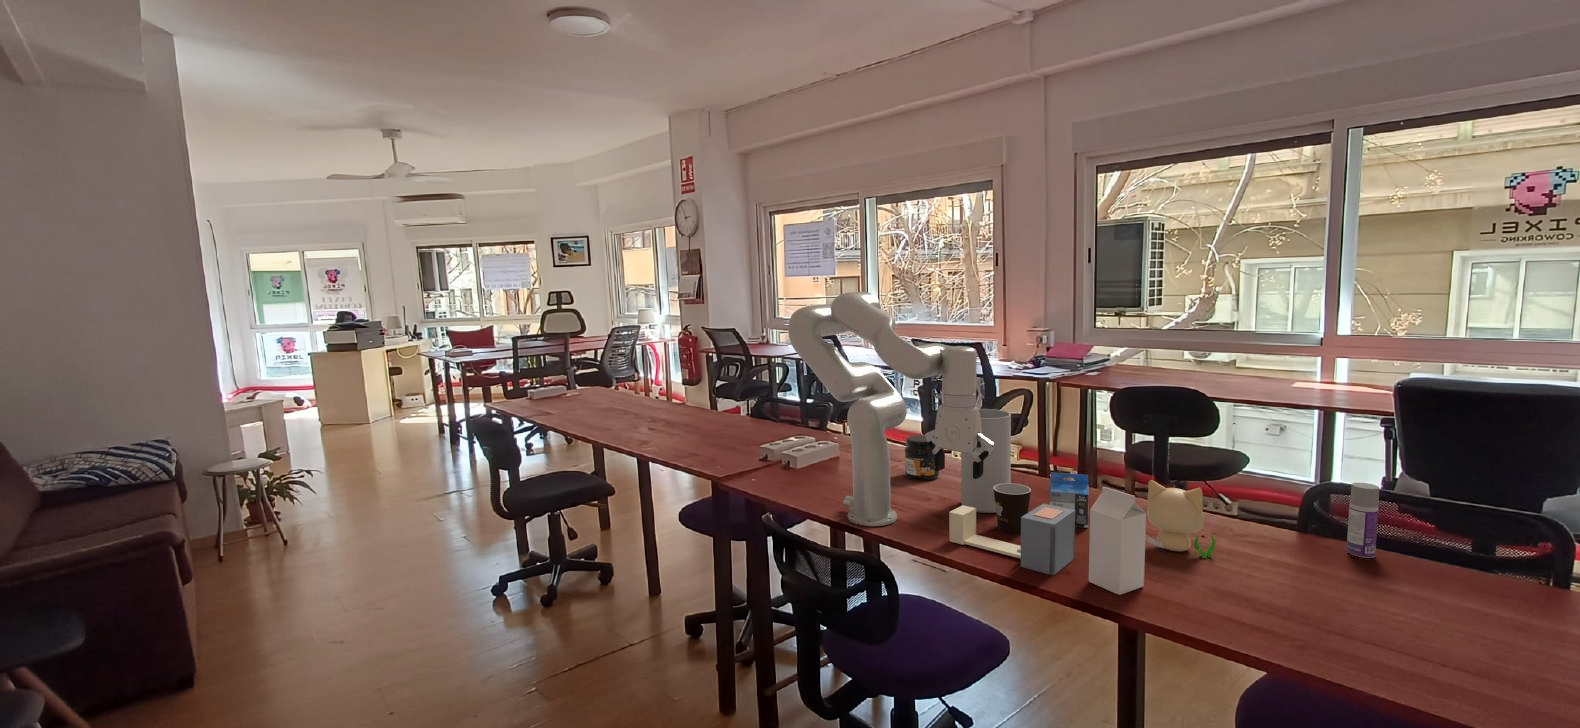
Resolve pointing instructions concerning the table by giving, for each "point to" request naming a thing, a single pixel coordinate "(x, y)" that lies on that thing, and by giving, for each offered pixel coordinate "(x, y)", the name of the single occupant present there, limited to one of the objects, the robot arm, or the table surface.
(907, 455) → the supplement container
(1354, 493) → the container
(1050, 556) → the block
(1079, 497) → the label tape box
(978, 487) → the cylinder vase
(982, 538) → the cream l-shaped bracket
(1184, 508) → the kitten
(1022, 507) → the coffee mug
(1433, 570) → the table surface
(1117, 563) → the milk carton
